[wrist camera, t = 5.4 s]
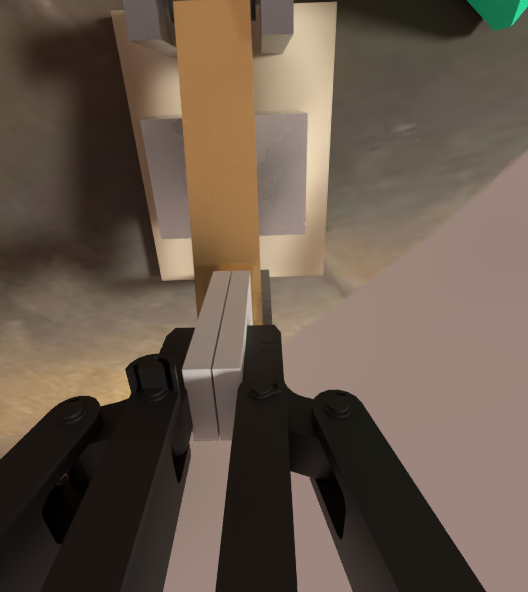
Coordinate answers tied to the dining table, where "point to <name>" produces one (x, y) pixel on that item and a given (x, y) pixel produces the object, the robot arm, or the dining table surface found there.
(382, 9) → the dining table surface
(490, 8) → the camera mount
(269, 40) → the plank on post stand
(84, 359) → the dining table surface
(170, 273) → the board
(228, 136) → the tan wooden flat bar
